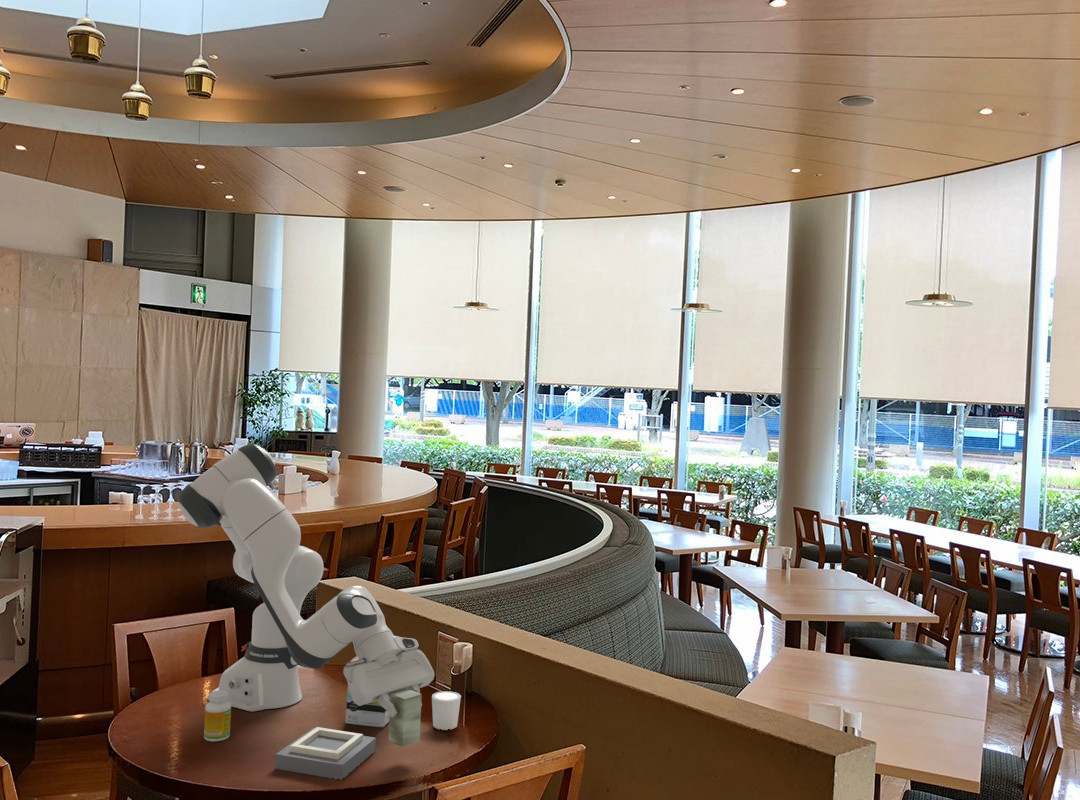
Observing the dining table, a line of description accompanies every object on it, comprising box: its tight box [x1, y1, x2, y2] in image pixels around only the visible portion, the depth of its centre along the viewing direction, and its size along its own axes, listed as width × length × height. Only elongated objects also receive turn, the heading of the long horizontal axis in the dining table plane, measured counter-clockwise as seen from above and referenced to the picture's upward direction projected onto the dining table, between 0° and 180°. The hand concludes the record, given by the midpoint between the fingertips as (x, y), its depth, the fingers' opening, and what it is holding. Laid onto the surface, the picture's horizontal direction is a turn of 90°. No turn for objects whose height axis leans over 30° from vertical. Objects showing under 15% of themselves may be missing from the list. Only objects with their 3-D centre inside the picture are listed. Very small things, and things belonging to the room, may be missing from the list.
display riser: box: [274, 726, 377, 781], centre depth 182 cm, size 15×15×4 cm
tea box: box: [344, 655, 390, 728], centre depth 208 cm, size 15×10×15 cm, turn 173°
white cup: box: [431, 690, 462, 731], centre depth 204 cm, size 7×7×7 cm
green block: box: [388, 689, 423, 748], centre depth 183 cm, size 5×5×10 cm
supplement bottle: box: [203, 690, 232, 742], centre depth 191 cm, size 5×5×10 cm
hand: (407, 711), depth 183 cm, fingers closed on green block, 5 cm apart
